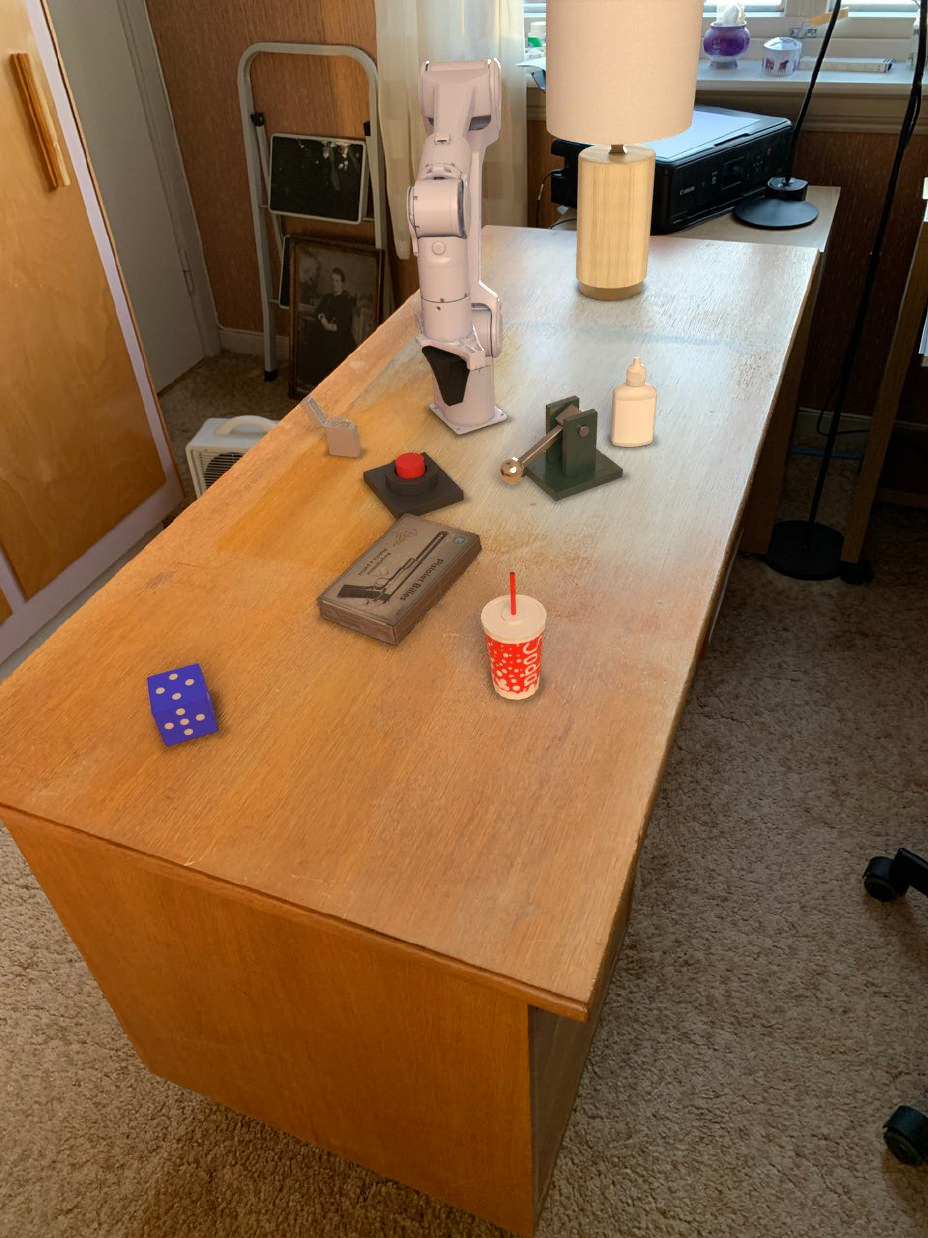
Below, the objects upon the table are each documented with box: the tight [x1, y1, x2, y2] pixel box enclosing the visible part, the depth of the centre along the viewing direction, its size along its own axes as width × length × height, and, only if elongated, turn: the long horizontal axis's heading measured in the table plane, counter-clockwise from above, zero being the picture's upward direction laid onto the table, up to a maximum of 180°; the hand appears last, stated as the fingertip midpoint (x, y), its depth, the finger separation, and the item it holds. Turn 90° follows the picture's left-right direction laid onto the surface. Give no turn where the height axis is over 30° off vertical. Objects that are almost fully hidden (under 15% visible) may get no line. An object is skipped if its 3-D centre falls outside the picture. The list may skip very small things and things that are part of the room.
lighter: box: [299, 394, 362, 458], centre depth 123 cm, size 7×2×8 cm, turn 74°
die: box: [146, 662, 219, 747], centre depth 88 cm, size 5×5×5 cm
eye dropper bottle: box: [609, 356, 658, 448], centre depth 119 cm, size 4×6×12 cm
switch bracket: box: [525, 394, 624, 502], centre depth 115 cm, size 10×9×9 cm
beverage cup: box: [480, 571, 548, 701], centre depth 86 cm, size 6×6×14 cm
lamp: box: [545, 0, 705, 301], centre depth 146 cm, size 23×23×44 cm
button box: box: [362, 451, 465, 521], centre depth 116 cm, size 11×9×3 cm
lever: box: [499, 404, 582, 485], centre depth 113 cm, size 12×3×3 cm, turn 117°
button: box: [394, 451, 425, 478], centre depth 115 cm, size 4×4×2 cm
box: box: [315, 513, 483, 646], centre depth 101 cm, size 11×17×3 cm, turn 148°
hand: (453, 402), depth 112 cm, fingers closed
